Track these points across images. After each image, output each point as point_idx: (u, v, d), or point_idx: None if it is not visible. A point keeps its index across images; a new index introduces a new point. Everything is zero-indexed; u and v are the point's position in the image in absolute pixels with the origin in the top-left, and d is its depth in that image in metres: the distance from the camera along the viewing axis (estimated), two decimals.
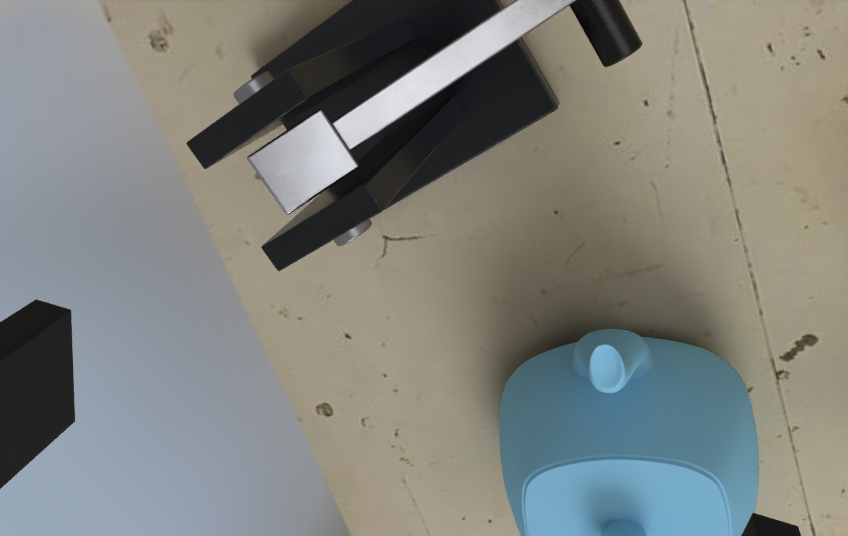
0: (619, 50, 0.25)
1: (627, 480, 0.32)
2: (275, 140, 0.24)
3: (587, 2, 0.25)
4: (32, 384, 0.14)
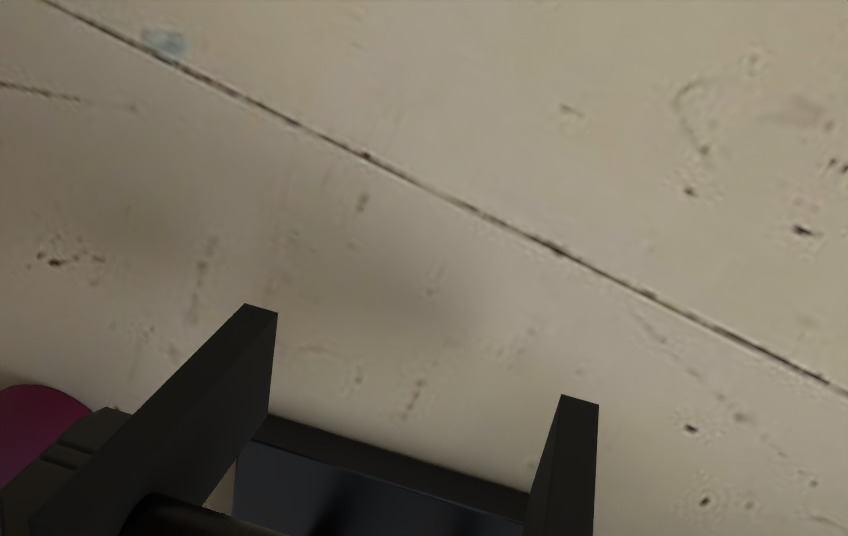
0: None
1: None
2: None
3: None
4: (250, 381, 0.15)
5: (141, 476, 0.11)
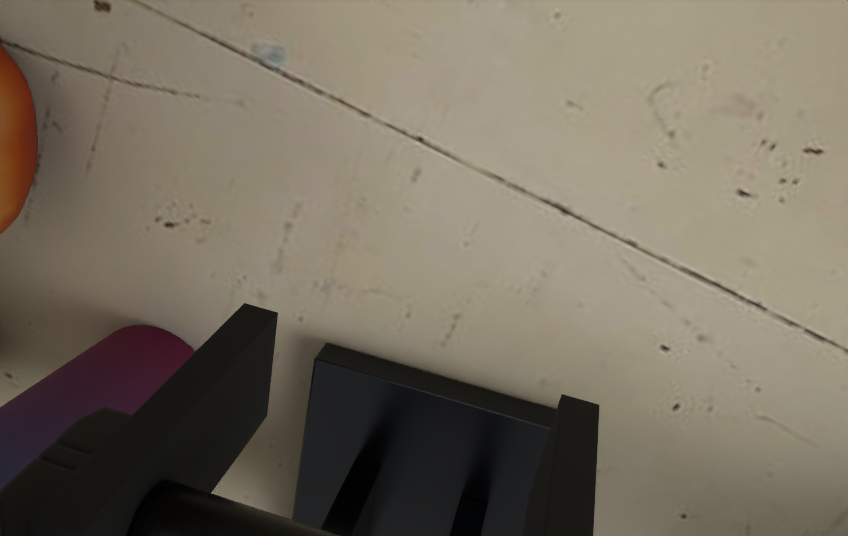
0: None
1: None
2: None
3: None
4: (250, 381, 0.15)
5: (141, 477, 0.11)
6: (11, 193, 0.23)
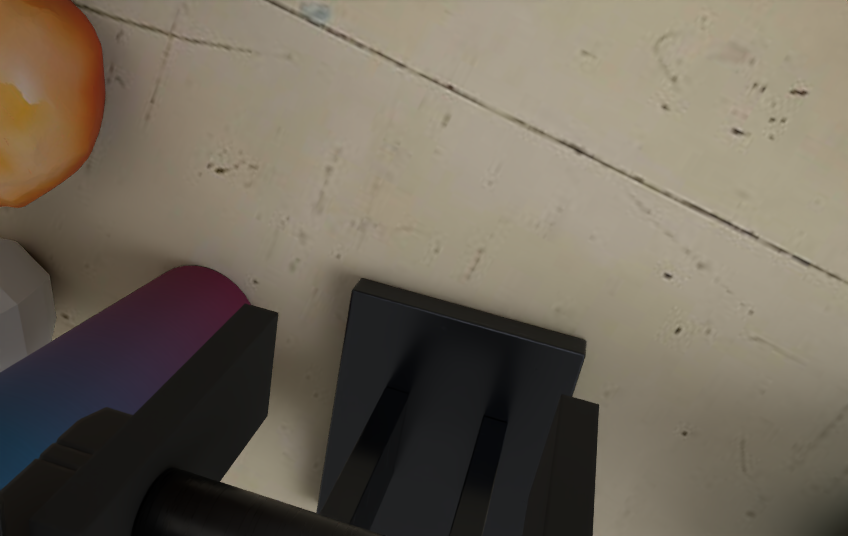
0: None
1: None
2: None
3: None
4: (250, 381, 0.15)
5: (142, 476, 0.11)
6: (85, 135, 0.26)
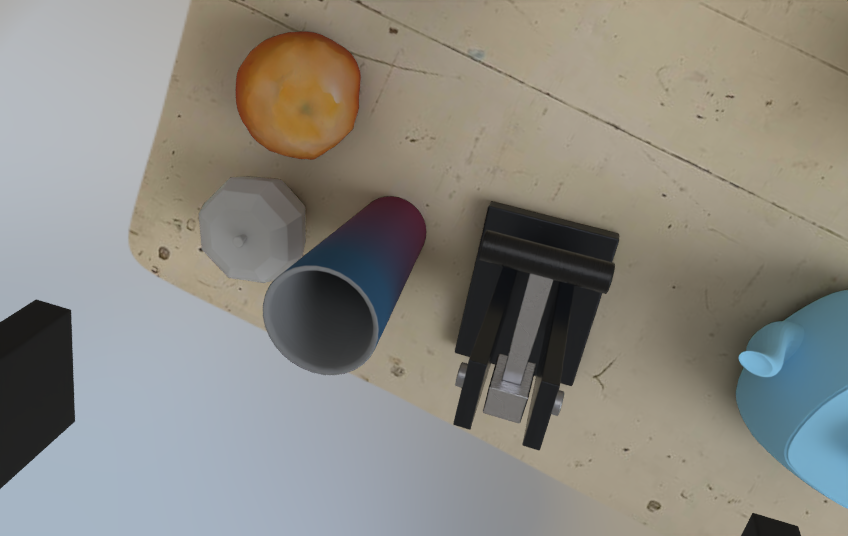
0: (600, 291, 0.34)
1: (841, 413, 0.43)
2: (485, 404, 0.43)
3: None
4: (32, 384, 0.14)
5: None
6: (353, 120, 0.49)
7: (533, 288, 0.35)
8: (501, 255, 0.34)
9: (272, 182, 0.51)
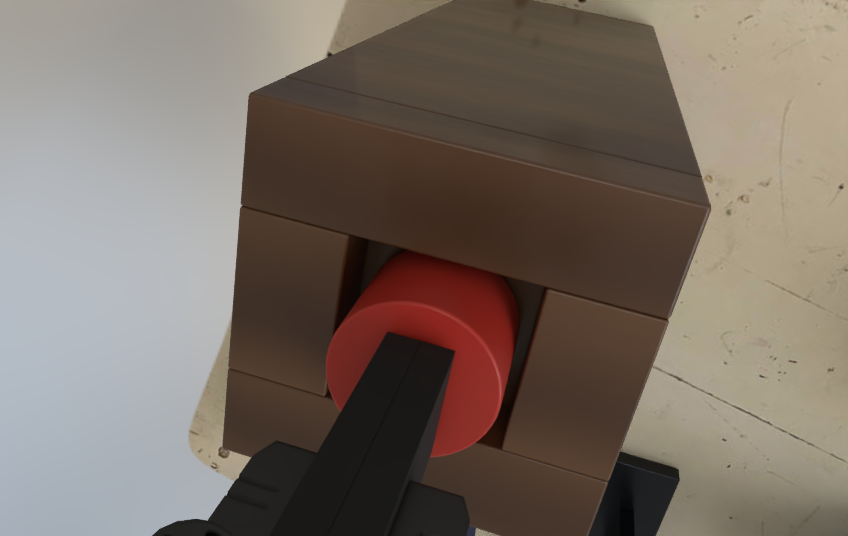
0: None
1: None
2: None
3: None
4: None
5: (340, 516, 0.11)
6: None
7: None
8: None
9: None
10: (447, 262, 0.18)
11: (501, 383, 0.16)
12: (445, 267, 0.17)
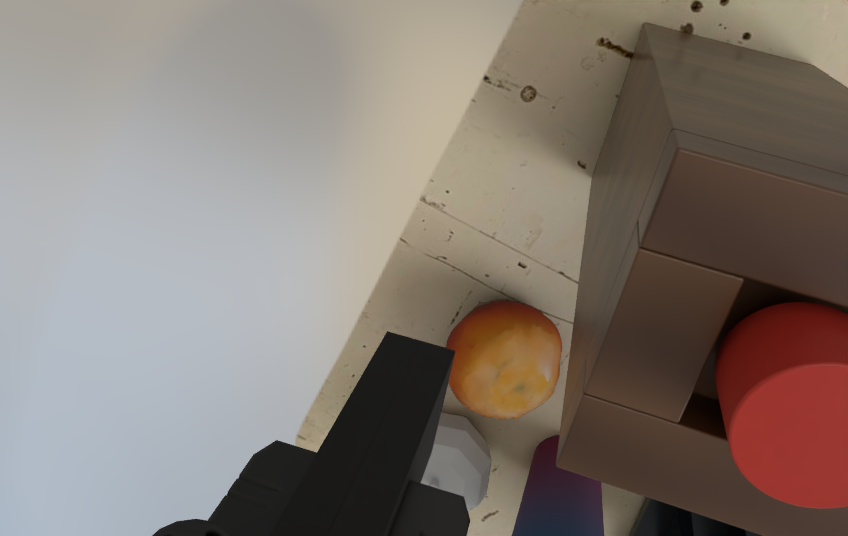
0: None
1: None
2: None
3: None
4: None
5: (340, 515, 0.11)
6: (554, 387, 0.52)
7: None
8: None
9: (466, 431, 0.54)
10: (835, 321, 0.18)
11: None
12: (839, 327, 0.18)
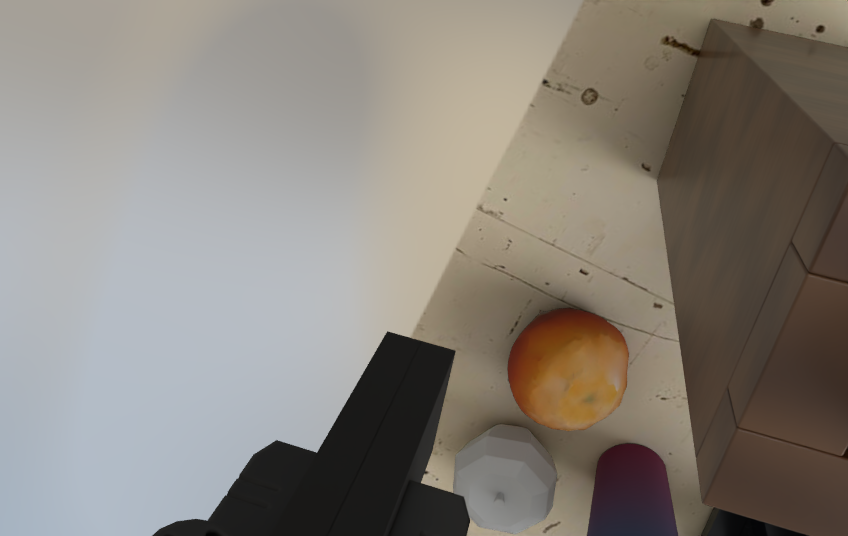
0: None
1: None
2: None
3: None
4: None
5: (340, 516, 0.11)
6: (622, 396, 0.50)
7: None
8: None
9: (530, 443, 0.53)
10: None
11: None
12: None
